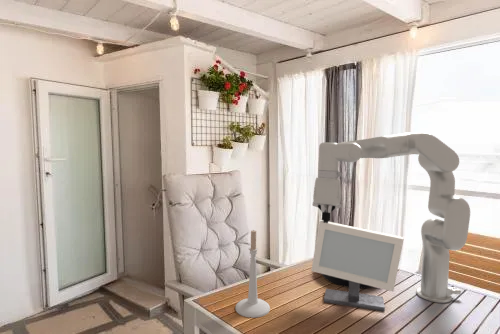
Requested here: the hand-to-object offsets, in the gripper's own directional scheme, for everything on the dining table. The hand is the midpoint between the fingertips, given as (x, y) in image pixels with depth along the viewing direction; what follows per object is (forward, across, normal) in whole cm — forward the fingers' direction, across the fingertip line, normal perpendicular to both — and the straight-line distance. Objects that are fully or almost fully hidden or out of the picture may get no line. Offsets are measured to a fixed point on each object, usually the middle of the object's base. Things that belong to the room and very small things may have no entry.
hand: (325, 222), depth 127 cm
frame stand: (+31, -12, -4) cm, 34 cm away
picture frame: (+21, -10, 0) cm, 24 cm away
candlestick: (+32, +24, +14) cm, 43 cm away
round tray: (+32, -10, -30) cm, 45 cm away
